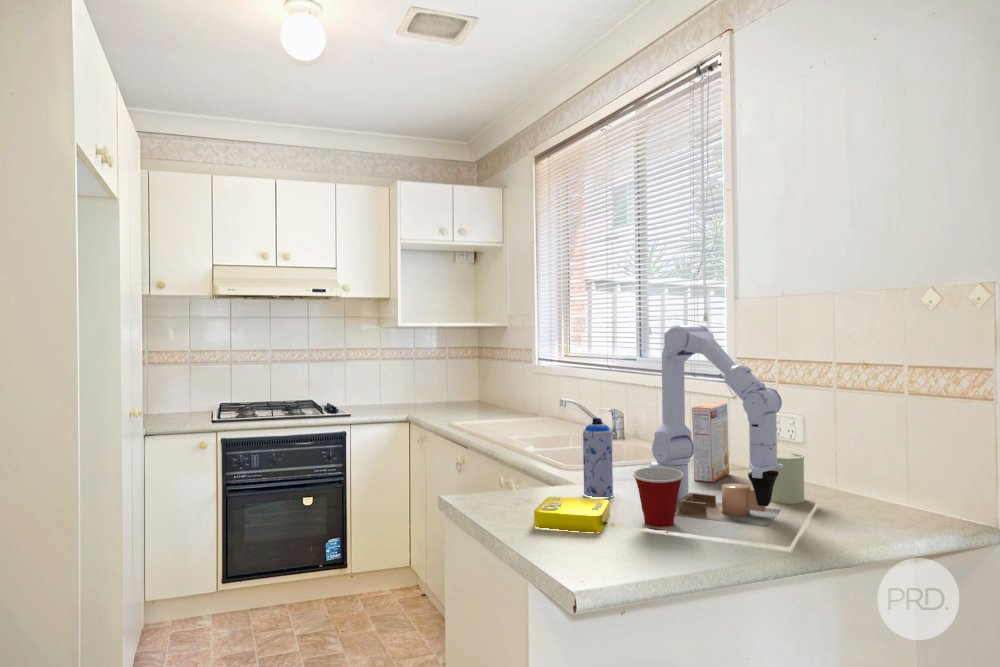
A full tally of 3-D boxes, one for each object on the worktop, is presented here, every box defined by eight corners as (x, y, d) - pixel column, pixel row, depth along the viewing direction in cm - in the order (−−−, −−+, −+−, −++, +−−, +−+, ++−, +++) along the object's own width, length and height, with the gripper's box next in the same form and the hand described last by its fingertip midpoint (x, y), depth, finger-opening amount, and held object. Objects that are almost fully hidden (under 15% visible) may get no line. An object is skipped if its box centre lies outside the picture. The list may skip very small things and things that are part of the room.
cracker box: (709, 472, 210) (708, 401, 210) (730, 474, 207) (728, 402, 207) (692, 480, 199) (690, 406, 199) (713, 483, 195) (712, 407, 195)
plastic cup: (628, 531, 150) (627, 475, 150) (638, 518, 160) (637, 465, 160) (681, 536, 146) (680, 478, 146) (687, 522, 156) (687, 468, 156)
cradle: (694, 503, 173) (694, 489, 173) (781, 512, 163) (780, 498, 163) (674, 518, 160) (674, 504, 160) (768, 530, 149) (767, 514, 149)
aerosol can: (585, 491, 188) (584, 416, 188) (615, 492, 186) (614, 416, 186) (580, 498, 180) (579, 420, 180) (611, 499, 178) (610, 420, 178)
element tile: (601, 536, 149) (601, 513, 149) (532, 531, 153) (531, 509, 153) (611, 518, 163) (611, 497, 163) (547, 514, 167) (547, 493, 167)
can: (809, 507, 168) (808, 456, 167) (768, 506, 169) (767, 456, 169) (800, 498, 177) (799, 450, 176) (761, 497, 178) (760, 449, 178)
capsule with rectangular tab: (725, 508, 165) (725, 482, 164) (767, 513, 160) (767, 487, 160) (719, 514, 159) (719, 487, 159) (762, 519, 155) (762, 492, 155)
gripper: (776, 449, 149) (777, 514, 149) (787, 440, 161) (788, 499, 161) (741, 447, 153) (742, 510, 153) (755, 438, 165) (756, 496, 165)
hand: (763, 504), depth 157 cm, fingers closed on capsule with rectangular tab
